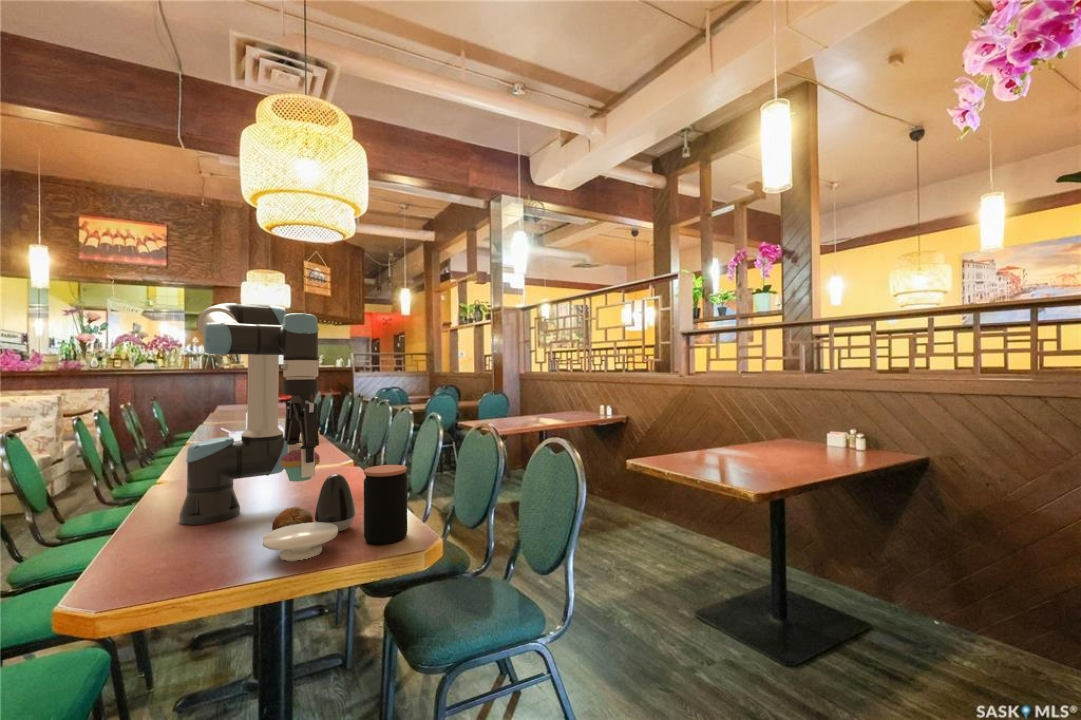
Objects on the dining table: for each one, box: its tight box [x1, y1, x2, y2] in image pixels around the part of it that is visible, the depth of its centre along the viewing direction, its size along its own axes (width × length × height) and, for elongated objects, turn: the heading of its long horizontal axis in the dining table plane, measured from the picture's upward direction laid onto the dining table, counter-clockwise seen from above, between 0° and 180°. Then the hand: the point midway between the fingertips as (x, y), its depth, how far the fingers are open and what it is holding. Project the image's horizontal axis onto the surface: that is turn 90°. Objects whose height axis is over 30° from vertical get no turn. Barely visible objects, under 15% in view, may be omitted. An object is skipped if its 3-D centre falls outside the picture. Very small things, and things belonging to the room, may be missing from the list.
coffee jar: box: [363, 464, 408, 546], centre depth 126 cm, size 11×11×18 cm
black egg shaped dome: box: [314, 473, 356, 533], centre depth 134 cm, size 10×10×15 cm
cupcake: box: [280, 443, 321, 482], centre depth 117 cm, size 9×8×12 cm
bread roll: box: [271, 506, 314, 531], centre depth 135 cm, size 10×10×8 cm
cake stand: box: [262, 521, 339, 562], centre depth 116 cm, size 16×16×5 cm
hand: (301, 473), depth 117 cm, fingers closed on cupcake, 8 cm apart
